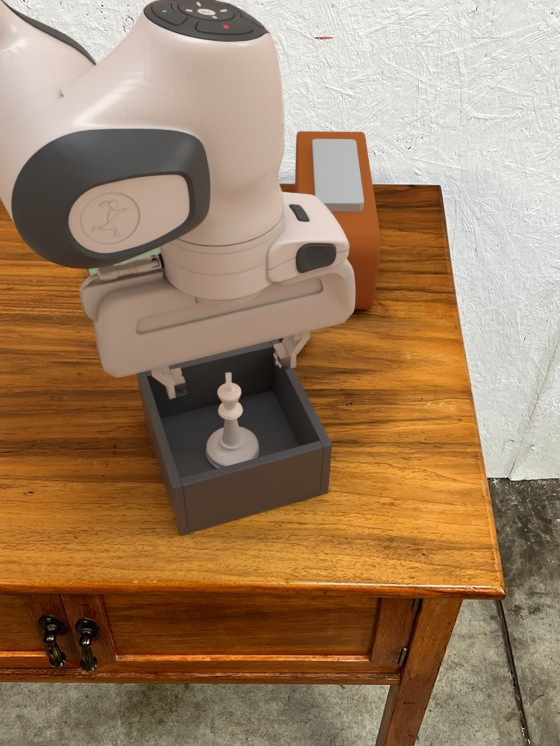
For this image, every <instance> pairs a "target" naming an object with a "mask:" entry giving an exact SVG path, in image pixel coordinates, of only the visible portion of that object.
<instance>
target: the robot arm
mask: <svg viewBox="0 0 560 746" xmlns="http://www.w3.org/2000/svg"><path fill="white" fill-rule="evenodd" d="M281 74H282V73H281V68H280V62H279V55H278V51H277V48H276V43H275V41H274V37H273V36H272V33H271V32H270V31H269V30H268V29H267V28H266V27H265V25H263V24H262V23H261V22H260V21H259V20H258V19H257V18H256V17H254V16H252V14H250V13H248V12H247V11H245V10H243V9H242V8H240V7H238V6H236V5H234V4H233V3H230V2H225V1H222V0H153V1H151V2H149V3H148V4H146V5H145V6H144V7H143V8H142V9H141V12H140V13H139V16H138V18H137V20H136V22H135V23H134V26H133V27H132V28H131V29H130V30H129V32H128V33H127V34H126V35H125V36H124V37H123V39H122V40H121V41H120V42H119V43H118V44H117V45H116V46H115V47H114V48H113V49H112V50H111V51H110V52H109V53H108V54H107V55H105V57H103V58H102V59H101V60H100V61H99V62H96V60H95V59H94V57H93V56H92V55H91V54H90V52H88V51H87V50H86V48H85V47H84V46H82V45H81V43H79V42H78V41H77V40H75V39H74V38H72V37H71V36H69V35H67V34H66V33H64V32H62V31H60V30H58V29H56V28H54V27H52V26H50V25H47V24H46V23H43V22H41V21H39V20H37V19H34V18H32V17H31V16H28V15H26V14H24V13H22V12H21V11H19V10H17V9H15V8H14V7H11V6H10V4H8V3H6V1H5V0H0V201H1V202H2V204H3V206H4V208H5V210H6V211H7V213H8V215H9V217H10V219H11V221H12V223H13V225H14V226H15V228H16V231H17V233H18V234H19V236H20V238H21V240H22V241H23V242H24V243H25V244H26V246H28V248H30V249H31V251H32V252H34V253H35V254H36V255H38V256H39V257H41V258H43V259H44V260H46V261H48V262H50V263H53V264H55V265H58V266H61V267H65V268H70V269H76V270H77V269H78V270H88V269H95V268H98V269H97V273H95V274H93V275H91V276H90V275H89V276H88V277H87V278H85V280H84V281H83V282H82V283H81V284H80V288H79V299H80V303H81V307H82V311H83V313H84V314H85V315H86V316H87V318H88V319H91V320H92V322H93V325H92V326H93V332H94V340H95V344H96V349H97V353H98V358H99V361H100V364H101V368H102V370H103V371H104V372H105V373H106V374H109V375H110V376H112V377H114V378H116V379H117V378H118V379H119V378H124V377H128V376H132V375H137V373H141V372H145V371H149V370H150V371H151V374H152V376H153V377H154V378H155V379H157V380H158V381H159V382H161V383H162V384H163V385H165V387H166V390H167V393H168V396H169V399H173V398H176V397H180V396H184V395H187V391H186V382H185V379H184V377H183V376H182V371H181V369H180V368H175V369H171V370H170V368H169V366H170V365H174V364H178V363H182V362H186V361H190V360H194V359H198V358H203V357H207V356H211V355H215V354H219V353H223V352H227V351H231V350H235V349H240V348H244V347H248V346H252V345H256V344H260V343H264V342H268V341H272V340H277V339H281V338H284V339H283V341H282V342H281V343H278V344H274V345H273V351H274V354H273V358H274V362H275V364H276V365H277V368H278V370H279V371H282V370H287V369H291V368H293V369H294V368H297V355H299V353H300V352H301V351H302V349H303V348H304V346H305V345H306V343H307V342H308V341H309V340H310V338H311V332H313V331H317V330H322V329H327V328H329V327H333V326H334V327H335V326H338V325H342V324H344V323H345V322H347V320H348V319H349V318H350V317H351V316H352V314H353V313H354V311H355V309H354V308H355V278H354V271H353V268H352V266H351V264H350V263H349V261H348V260H347V257H348V254H349V242H348V240H347V238H346V235H345V233H344V231H343V230H342V228H341V226H340V224H339V223H338V221H337V220H336V218H335V217H334V216H333V214H332V213H331V212H330V211H329V209H328V208H327V207H326V206H325V205H324V204H323V202H322V201H321V200H320V199H319V198H318V197H316V196H314V195H309V194H300V193H295V192H288V191H283V190H282V187H281V184H280V180H279V172H280V167H281V165H282V162H283V159H284V155H285V154H284V153H285V111H284V109H285V108H284V93H283V92H284V91H283V82H282V75H281ZM158 247H159V249H160V253H159V254H157V255H152V256H147V257H143V258H138V259H135V260H132V261H130V262H126V263H122V264H118V263H121V262H123V261H126V260H129V259H131V258H134V257H136V256H139V255H141V254H144V253H146V252H149V251H151V250H153V249H156V248H158ZM115 264H116V265H115ZM96 279H97V280H96Z"/></svg>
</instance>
